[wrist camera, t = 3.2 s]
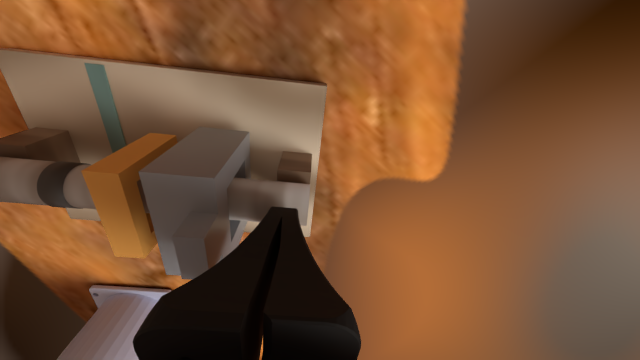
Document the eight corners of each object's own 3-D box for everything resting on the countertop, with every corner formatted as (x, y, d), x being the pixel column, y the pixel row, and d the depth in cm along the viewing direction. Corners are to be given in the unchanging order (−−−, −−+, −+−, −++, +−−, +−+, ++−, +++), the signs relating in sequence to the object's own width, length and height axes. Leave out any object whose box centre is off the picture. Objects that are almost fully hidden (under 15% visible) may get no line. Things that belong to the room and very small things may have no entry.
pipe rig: (310, 229, 22) (307, 291, 16) (81, 211, 21) (-4, 272, 15) (326, 83, 16) (331, 106, 11) (10, 48, 15) (-168, 52, 9)
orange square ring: (188, 203, 17) (145, 258, 13) (166, 202, 17) (115, 256, 13) (176, 135, 15) (118, 174, 11) (150, 132, 15) (81, 170, 11)
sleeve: (251, 210, 18) (214, 306, 12) (210, 207, 18) (148, 302, 12) (249, 131, 16) (197, 200, 9) (199, 126, 15) (109, 192, 9)
